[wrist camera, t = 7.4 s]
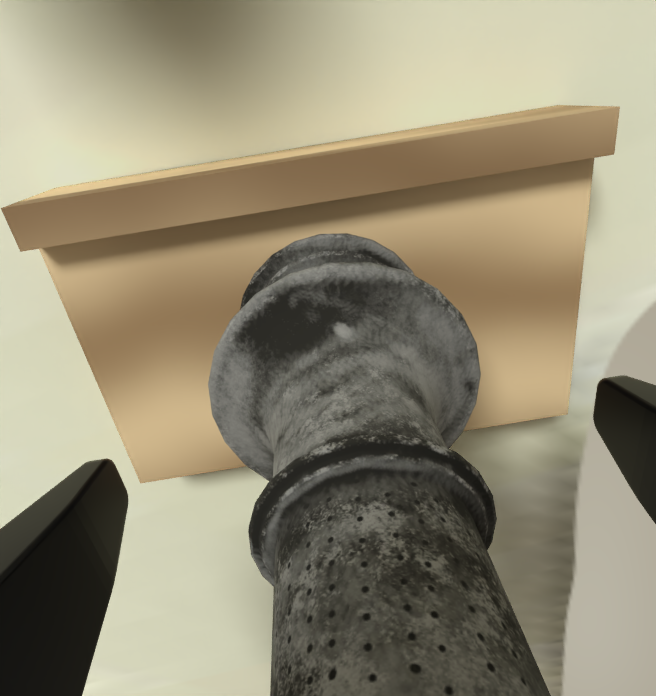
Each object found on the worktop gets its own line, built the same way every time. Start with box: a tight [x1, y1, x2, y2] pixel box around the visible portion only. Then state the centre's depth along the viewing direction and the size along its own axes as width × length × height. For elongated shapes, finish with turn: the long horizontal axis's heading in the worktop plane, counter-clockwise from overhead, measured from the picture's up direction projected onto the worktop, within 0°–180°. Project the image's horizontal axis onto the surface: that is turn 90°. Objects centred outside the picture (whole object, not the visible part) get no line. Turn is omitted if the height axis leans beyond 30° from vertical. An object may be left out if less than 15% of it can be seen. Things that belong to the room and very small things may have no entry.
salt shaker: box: [208, 233, 551, 696], centre depth 8 cm, size 6×6×12 cm
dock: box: [1, 105, 620, 483], centre depth 14 cm, size 9×14×3 cm, turn 98°
